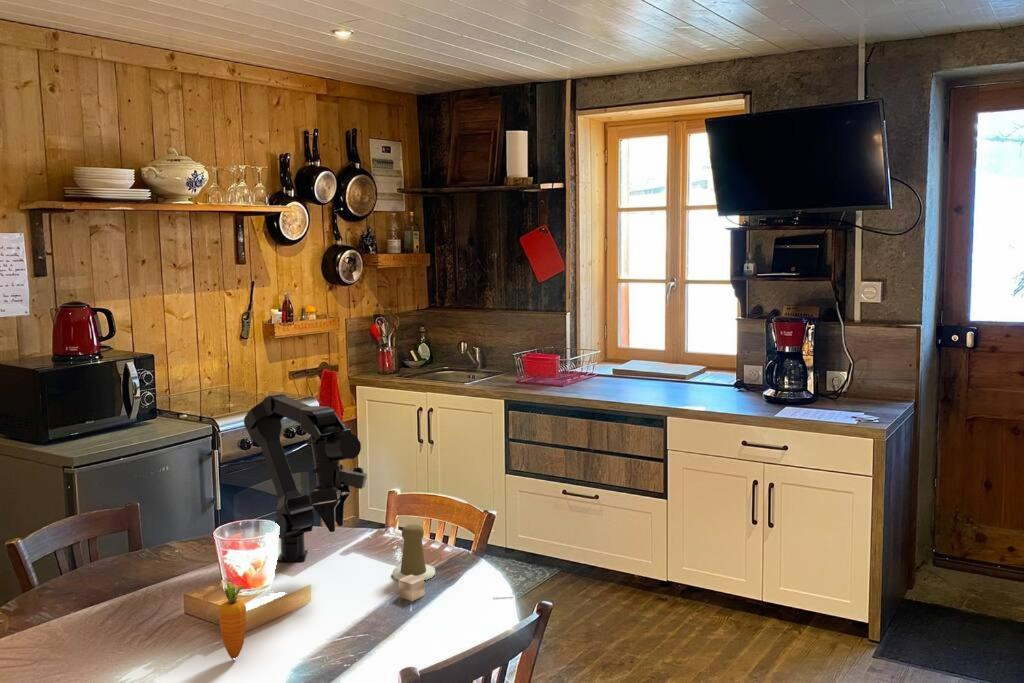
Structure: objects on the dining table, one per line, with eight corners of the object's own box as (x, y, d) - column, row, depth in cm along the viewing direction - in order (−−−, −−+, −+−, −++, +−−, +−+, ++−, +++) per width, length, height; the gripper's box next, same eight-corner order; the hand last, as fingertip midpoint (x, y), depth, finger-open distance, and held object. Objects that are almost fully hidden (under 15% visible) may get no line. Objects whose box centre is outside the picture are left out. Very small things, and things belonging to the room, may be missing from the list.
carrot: (223, 654, 171) (220, 578, 169) (250, 653, 171) (247, 577, 169) (217, 666, 166) (214, 589, 164) (245, 665, 166) (242, 588, 165)
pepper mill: (425, 565, 215) (424, 521, 213) (427, 574, 209) (426, 529, 207) (399, 567, 214) (399, 522, 212) (401, 576, 208) (400, 530, 206)
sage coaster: (393, 567, 216) (393, 564, 216) (435, 565, 217) (435, 562, 217) (391, 583, 206) (391, 579, 206) (435, 581, 207) (435, 578, 207)
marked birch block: (398, 597, 198) (398, 579, 198) (410, 591, 201) (410, 574, 201) (412, 601, 196) (411, 584, 195) (424, 595, 199) (424, 578, 198)
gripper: (353, 459, 199) (364, 529, 199) (367, 453, 218) (377, 517, 217) (304, 467, 199) (314, 537, 198) (322, 461, 218) (332, 525, 217)
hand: (336, 528), depth 208 cm, fingers open, 9 cm apart
